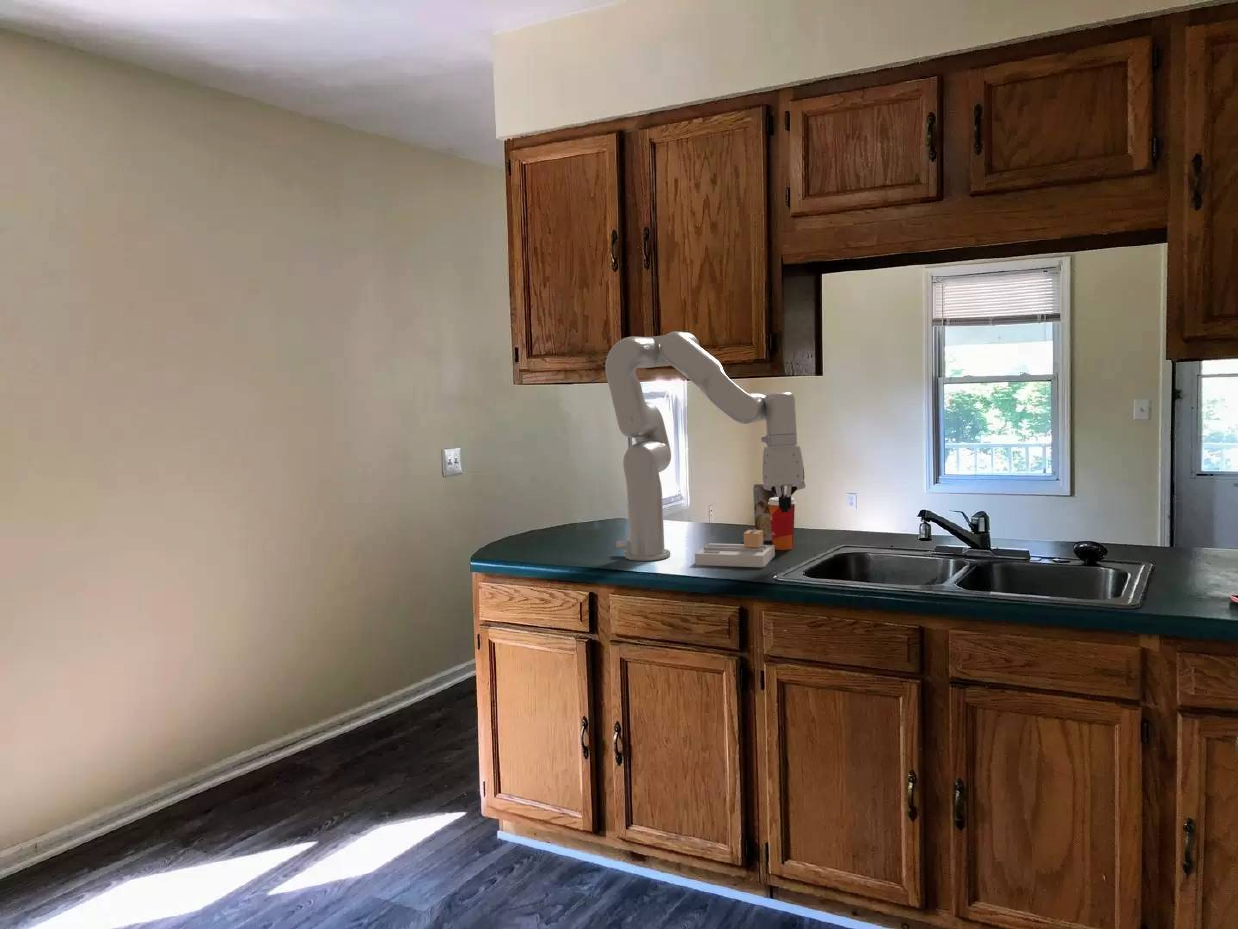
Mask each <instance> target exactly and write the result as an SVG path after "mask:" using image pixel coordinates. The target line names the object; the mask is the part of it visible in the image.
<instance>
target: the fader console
mask: <svg viewBox="0 0 1238 929" xmlns="http://www.w3.org/2000/svg"><path fill="white" fill-rule="evenodd" d="M774 557H776V552H775V545H773V544H762V545H761V546H760V547H756V548H751V547H744V543H710V542H709V543H707V544H706V545H705V546H703V547H702V548H701V549H699V550H698V551H696V552H695V553H694V561H695V562H694V563H695V564H694V565H696V566H716V567H739V568H740V567H745V568H746V567H747V568H749V567H750V568H765V567H766V566H767V565H768V564H769V563H770V562H771V561H772V560H773V559H774Z"/></svg>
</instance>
